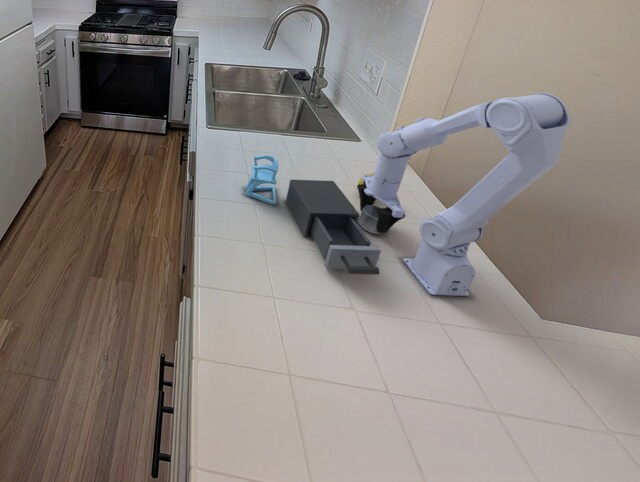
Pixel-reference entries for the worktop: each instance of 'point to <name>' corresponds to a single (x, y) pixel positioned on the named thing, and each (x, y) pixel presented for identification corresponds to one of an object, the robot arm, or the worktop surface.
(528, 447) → the worktop surface
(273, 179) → the chair
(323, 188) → the drawer cabinet
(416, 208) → the worktop surface
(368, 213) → the octagonal metal cup
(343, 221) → the drawer
